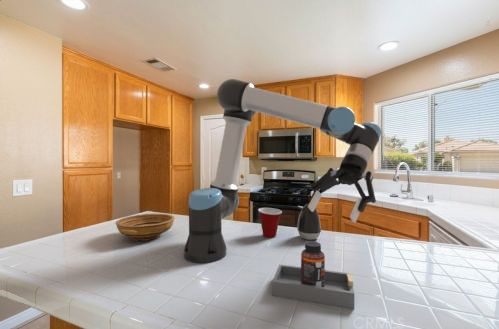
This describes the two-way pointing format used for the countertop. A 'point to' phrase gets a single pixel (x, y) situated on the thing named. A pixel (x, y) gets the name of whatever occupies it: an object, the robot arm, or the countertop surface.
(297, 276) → the trough
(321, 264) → the supplement bottle
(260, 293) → the countertop surface
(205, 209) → the robot arm
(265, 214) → the plastic cup
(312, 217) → the pump dispenser
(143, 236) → the brown woven oval bowl
